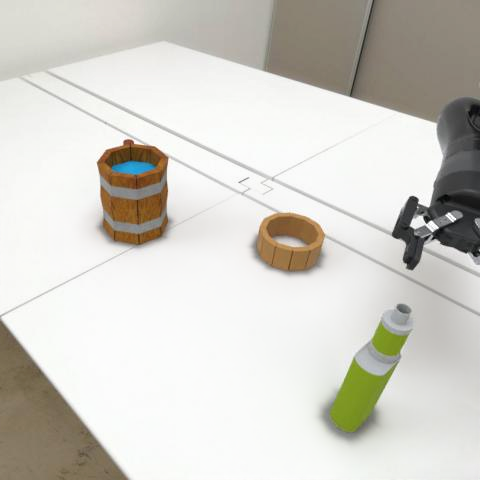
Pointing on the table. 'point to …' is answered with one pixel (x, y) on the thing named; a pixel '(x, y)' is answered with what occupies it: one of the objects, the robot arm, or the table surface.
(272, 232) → the wooden ring
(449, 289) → the table surface
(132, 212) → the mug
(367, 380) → the vape
